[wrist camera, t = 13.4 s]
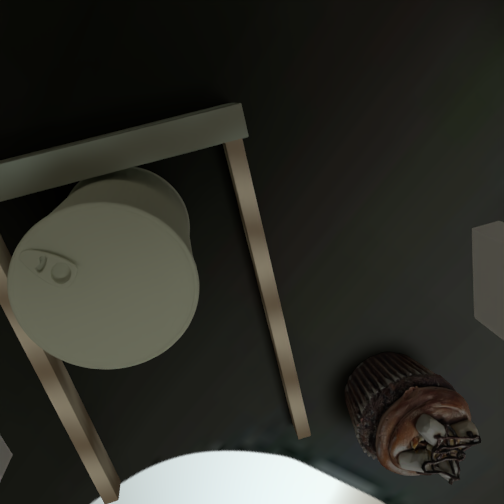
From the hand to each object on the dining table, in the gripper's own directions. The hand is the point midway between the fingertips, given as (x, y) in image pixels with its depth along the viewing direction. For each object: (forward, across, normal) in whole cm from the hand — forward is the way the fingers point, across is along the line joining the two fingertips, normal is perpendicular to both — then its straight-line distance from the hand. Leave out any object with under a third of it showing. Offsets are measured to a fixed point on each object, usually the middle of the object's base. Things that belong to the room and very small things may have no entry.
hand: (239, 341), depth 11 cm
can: (+22, -6, -2) cm, 23 cm away
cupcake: (+22, +12, -24) cm, 35 cm away
